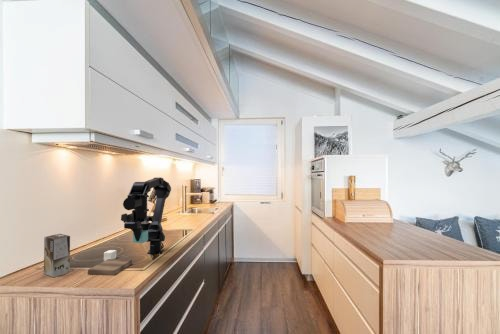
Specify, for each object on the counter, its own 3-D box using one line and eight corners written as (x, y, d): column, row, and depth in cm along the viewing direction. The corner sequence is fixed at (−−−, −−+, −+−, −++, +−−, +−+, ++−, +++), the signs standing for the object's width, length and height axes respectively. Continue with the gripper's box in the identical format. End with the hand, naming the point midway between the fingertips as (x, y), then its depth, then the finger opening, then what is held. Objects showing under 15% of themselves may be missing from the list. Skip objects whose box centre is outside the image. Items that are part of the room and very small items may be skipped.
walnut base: (108, 263, 115) (108, 259, 115) (131, 263, 114) (131, 259, 114) (87, 274, 102) (87, 269, 102) (114, 275, 101) (114, 270, 101)
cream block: (109, 257, 123) (109, 250, 123) (116, 258, 123) (116, 250, 123) (103, 260, 119) (103, 252, 119) (111, 260, 119) (111, 252, 119)
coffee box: (70, 272, 105) (71, 235, 105) (53, 277, 99) (53, 239, 100) (59, 268, 109) (60, 233, 109) (42, 273, 103) (43, 236, 104)
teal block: (138, 240, 118) (138, 230, 119) (148, 240, 118) (148, 230, 118) (132, 243, 113) (132, 232, 114) (143, 243, 113) (143, 232, 113)
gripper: (135, 205, 126) (134, 234, 126) (113, 210, 108) (112, 244, 107) (155, 205, 126) (155, 235, 125) (136, 210, 107) (136, 245, 106)
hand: (140, 239), depth 116 cm, fingers closed on teal block, 5 cm apart
